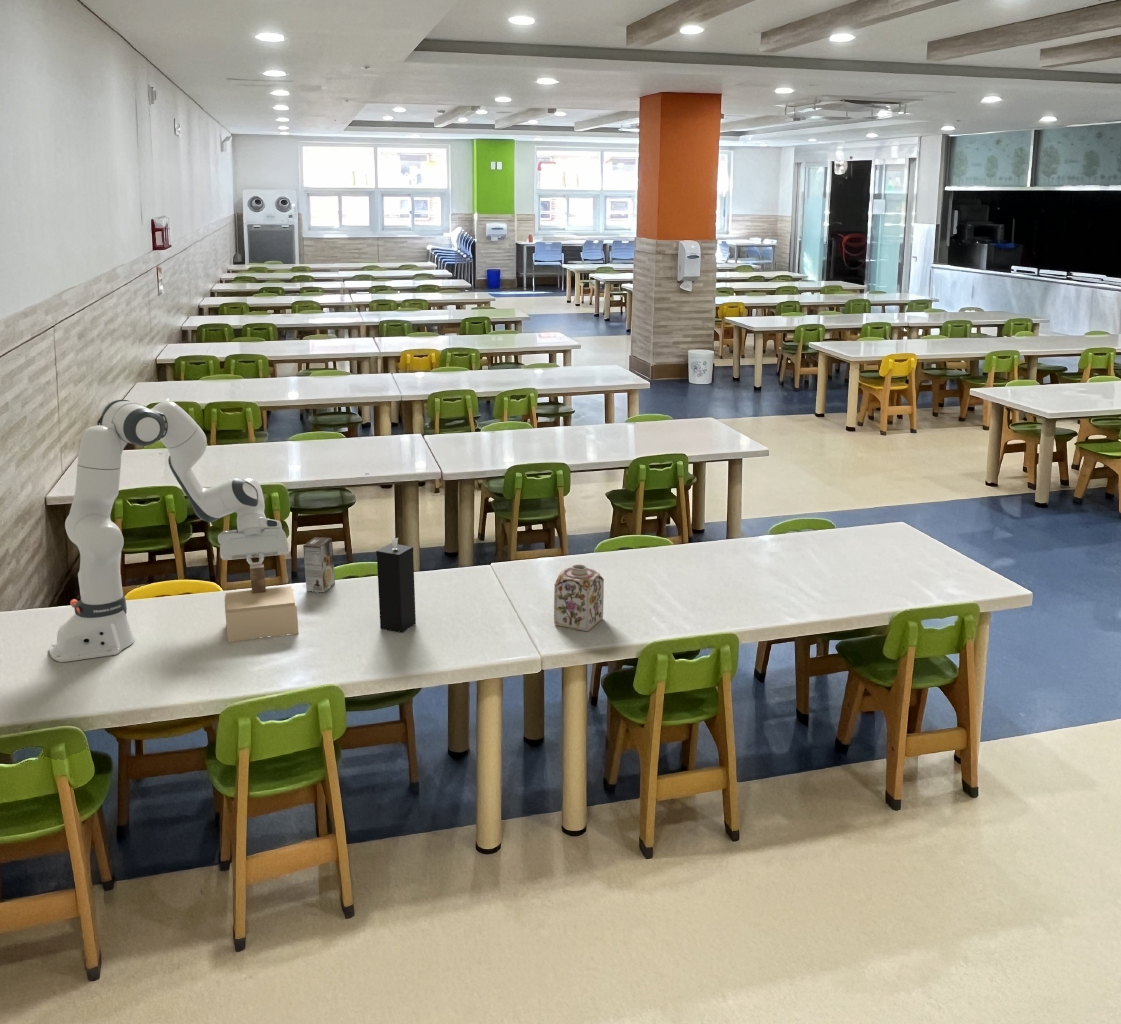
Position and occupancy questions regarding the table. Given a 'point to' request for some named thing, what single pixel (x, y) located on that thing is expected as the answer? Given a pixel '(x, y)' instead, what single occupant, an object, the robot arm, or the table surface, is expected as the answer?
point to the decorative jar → (578, 598)
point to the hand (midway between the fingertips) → (256, 568)
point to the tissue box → (396, 587)
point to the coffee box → (319, 564)
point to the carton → (261, 622)
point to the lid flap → (259, 594)
